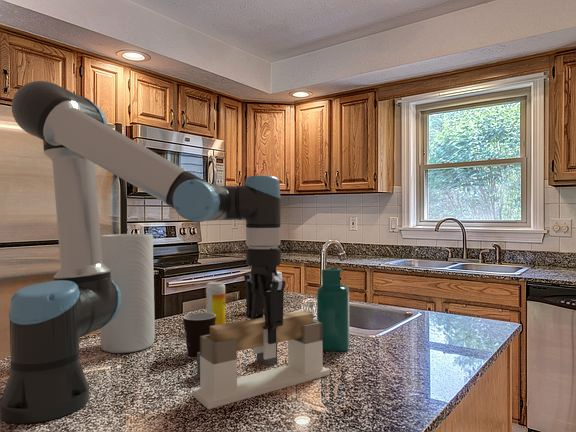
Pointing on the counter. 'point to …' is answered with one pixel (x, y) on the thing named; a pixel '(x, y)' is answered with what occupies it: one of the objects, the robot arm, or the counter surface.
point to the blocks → (259, 358)
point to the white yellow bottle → (216, 301)
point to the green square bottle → (333, 311)
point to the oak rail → (261, 330)
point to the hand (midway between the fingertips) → (264, 354)
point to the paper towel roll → (130, 292)
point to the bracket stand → (228, 388)
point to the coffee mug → (197, 330)
